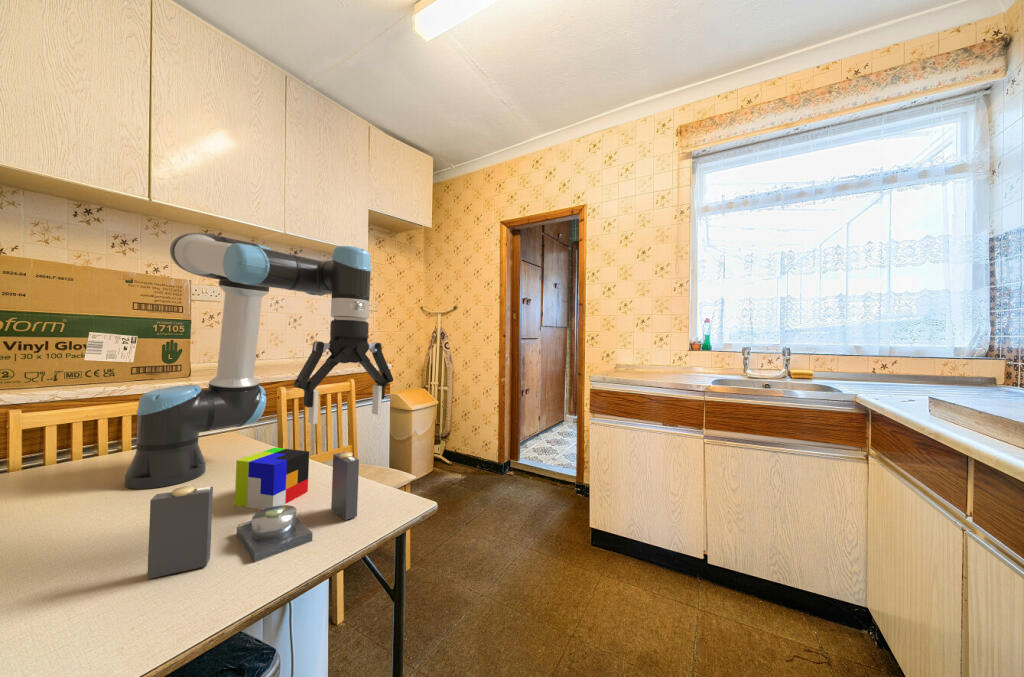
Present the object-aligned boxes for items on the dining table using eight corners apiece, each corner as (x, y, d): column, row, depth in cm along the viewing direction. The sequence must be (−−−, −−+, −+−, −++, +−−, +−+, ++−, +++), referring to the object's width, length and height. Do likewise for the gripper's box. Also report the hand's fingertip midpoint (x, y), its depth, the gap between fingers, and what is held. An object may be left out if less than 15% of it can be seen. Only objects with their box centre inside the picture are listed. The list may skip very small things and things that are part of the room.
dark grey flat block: (146, 579, 54) (150, 496, 54) (153, 569, 56) (157, 490, 57) (206, 566, 58) (209, 488, 58) (210, 557, 60) (213, 482, 60)
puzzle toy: (272, 511, 77) (274, 464, 77) (234, 505, 79) (236, 460, 79) (307, 492, 87) (309, 451, 87) (273, 487, 89) (274, 447, 89)
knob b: (330, 509, 78) (332, 451, 78) (342, 505, 80) (344, 449, 80) (345, 520, 73) (347, 459, 74) (357, 516, 75) (359, 456, 76)
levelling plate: (236, 535, 67) (237, 507, 67) (289, 518, 74) (290, 492, 74) (254, 562, 60) (255, 530, 60) (312, 540, 66) (313, 512, 66)
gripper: (291, 314, 65) (287, 431, 65) (410, 323, 84) (407, 413, 84) (278, 315, 70) (274, 423, 70) (393, 323, 89) (390, 408, 89)
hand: (346, 418), depth 77 cm, fingers open, 13 cm apart
